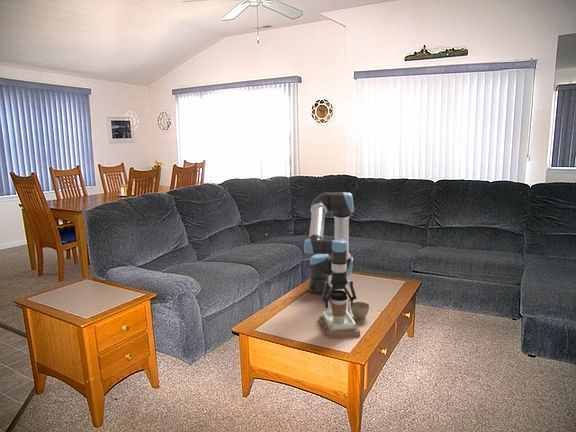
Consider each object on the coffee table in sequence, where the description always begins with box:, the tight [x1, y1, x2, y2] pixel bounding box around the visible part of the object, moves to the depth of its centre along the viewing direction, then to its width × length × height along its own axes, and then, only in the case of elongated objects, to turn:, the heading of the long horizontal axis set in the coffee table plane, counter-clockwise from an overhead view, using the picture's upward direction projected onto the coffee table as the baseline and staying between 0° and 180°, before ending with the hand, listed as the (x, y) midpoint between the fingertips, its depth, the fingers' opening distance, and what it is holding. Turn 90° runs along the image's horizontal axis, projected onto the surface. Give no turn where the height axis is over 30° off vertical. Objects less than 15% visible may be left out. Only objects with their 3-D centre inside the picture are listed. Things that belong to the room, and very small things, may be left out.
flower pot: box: [351, 301, 370, 320], centre depth 227 cm, size 10×10×7 cm
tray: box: [322, 309, 357, 331], centre depth 216 cm, size 18×13×3 cm
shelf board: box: [318, 314, 361, 339], centre depth 216 cm, size 22×16×2 cm
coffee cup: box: [330, 289, 348, 323], centre depth 215 cm, size 8×8×15 cm
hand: (338, 313), depth 215 cm, fingers open, 10 cm apart
